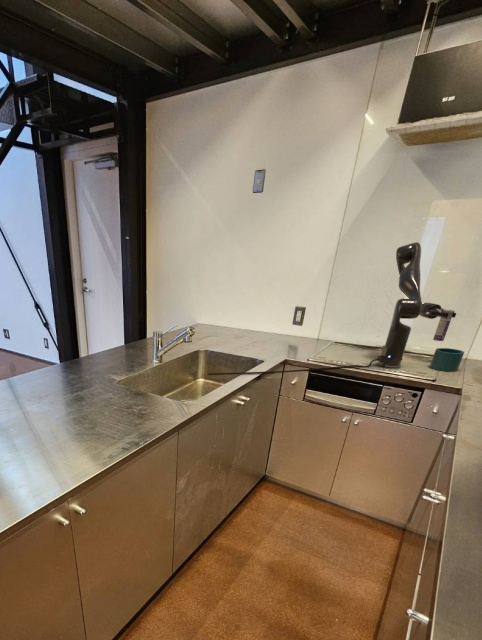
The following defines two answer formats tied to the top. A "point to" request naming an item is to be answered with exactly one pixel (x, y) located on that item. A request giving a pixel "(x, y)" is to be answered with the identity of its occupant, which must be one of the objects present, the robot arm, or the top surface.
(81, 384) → the top surface
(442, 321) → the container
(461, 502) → the top surface
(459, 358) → the teal pen cup
